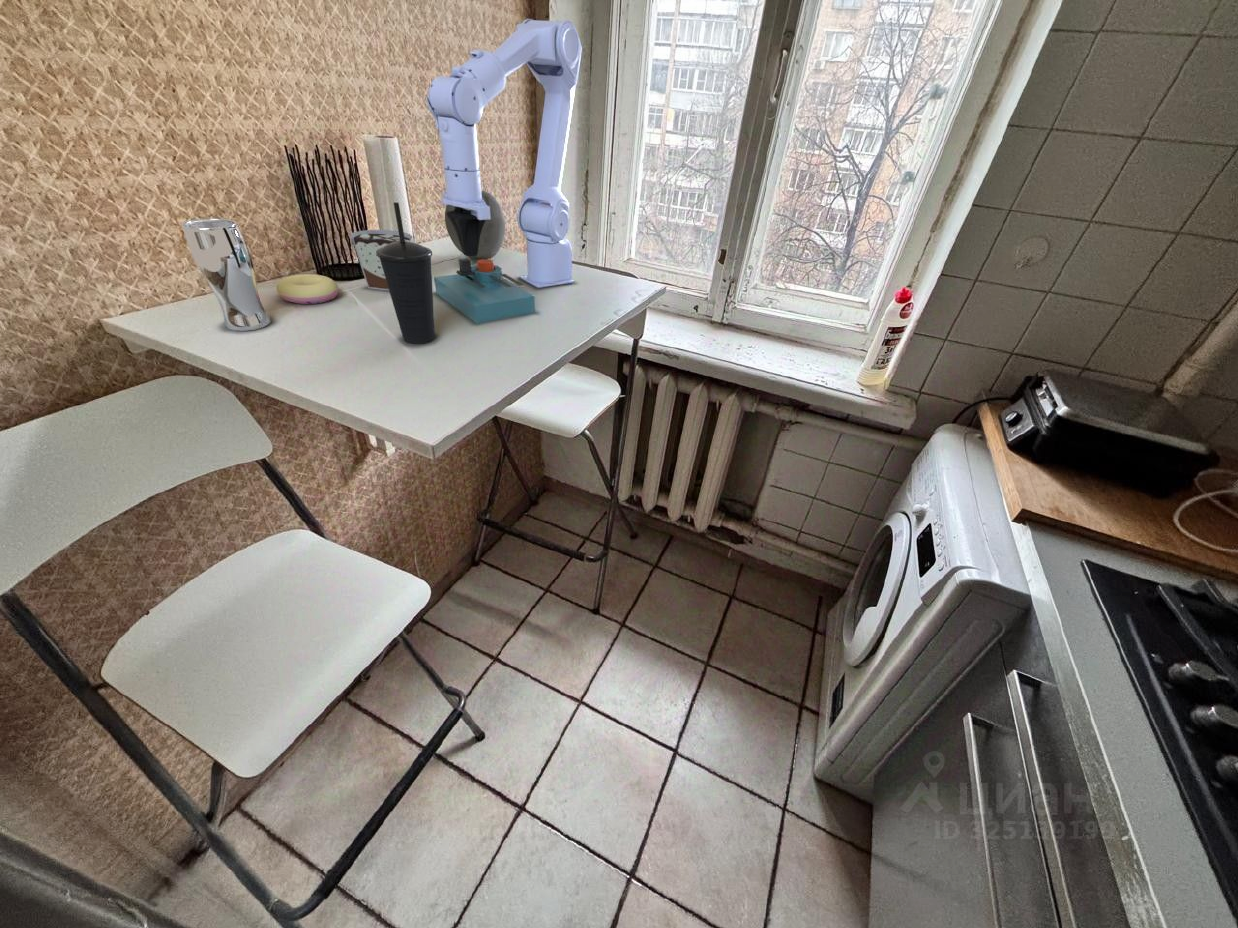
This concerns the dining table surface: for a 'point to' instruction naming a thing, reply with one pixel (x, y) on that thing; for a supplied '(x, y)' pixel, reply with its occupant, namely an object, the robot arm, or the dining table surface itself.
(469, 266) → the slider
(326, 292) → the donut
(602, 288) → the dining table surface
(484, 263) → the button
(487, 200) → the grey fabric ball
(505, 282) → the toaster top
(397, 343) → the dining table surface
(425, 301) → the drinking cup
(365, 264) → the food container
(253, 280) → the chrome curved vase
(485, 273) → the teal control box
